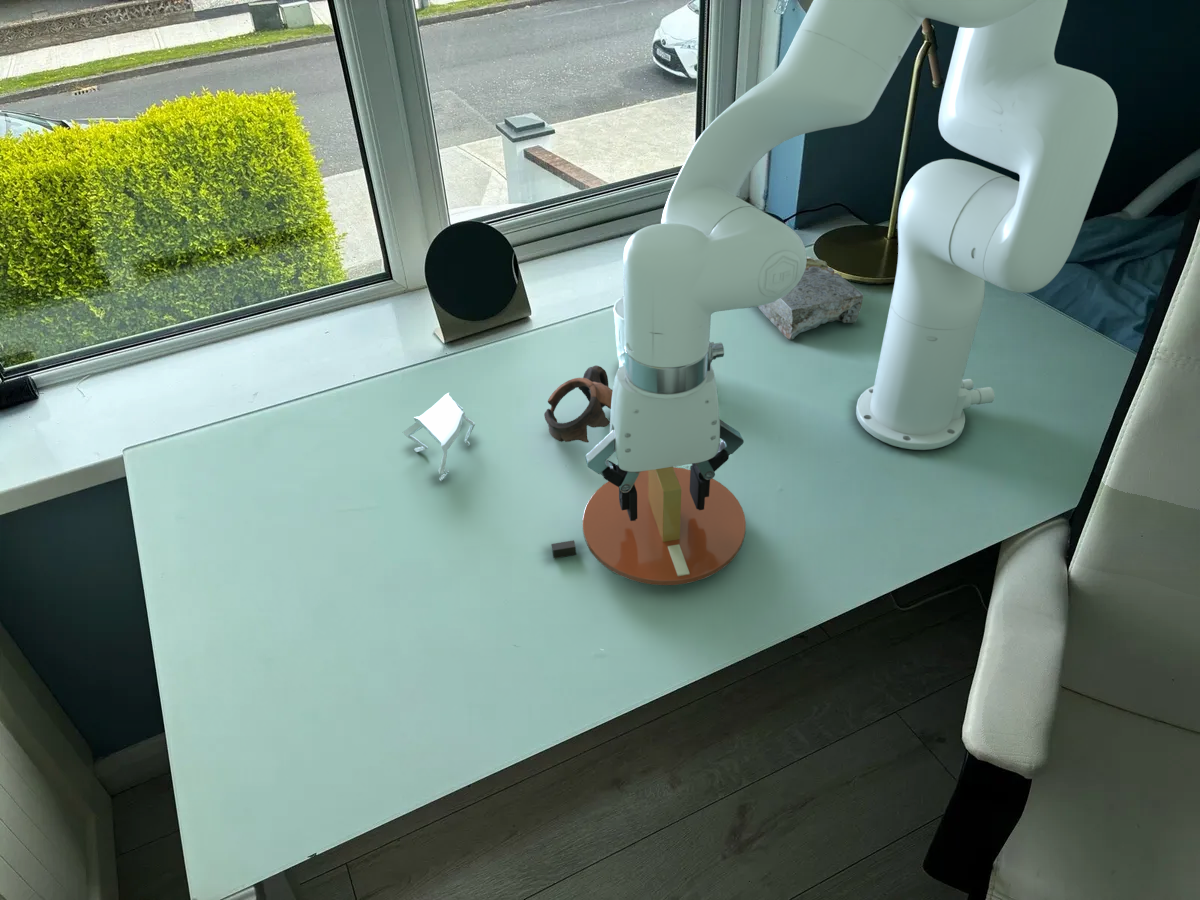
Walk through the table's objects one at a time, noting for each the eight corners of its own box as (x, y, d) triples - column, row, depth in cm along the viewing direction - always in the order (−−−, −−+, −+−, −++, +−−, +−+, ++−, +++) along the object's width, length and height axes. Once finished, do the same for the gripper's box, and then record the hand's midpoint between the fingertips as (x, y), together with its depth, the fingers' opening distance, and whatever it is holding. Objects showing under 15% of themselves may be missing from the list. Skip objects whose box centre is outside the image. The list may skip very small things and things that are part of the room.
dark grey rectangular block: (696, 498, 100) (696, 487, 99) (722, 563, 92) (723, 552, 91) (545, 522, 98) (544, 511, 97) (560, 590, 90) (559, 579, 89)
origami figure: (401, 434, 111) (394, 402, 107) (467, 418, 113) (462, 386, 109) (420, 495, 102) (413, 462, 99) (491, 477, 104) (487, 444, 101)
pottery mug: (636, 459, 106) (601, 421, 100) (568, 478, 110) (531, 442, 105) (640, 380, 113) (607, 341, 107) (576, 401, 117) (541, 363, 112)
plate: (718, 461, 102) (722, 406, 97) (768, 569, 89) (775, 513, 84) (570, 483, 100) (566, 429, 95) (599, 598, 87) (596, 542, 82)
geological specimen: (796, 313, 119) (743, 259, 130) (792, 350, 124) (740, 295, 134) (866, 294, 122) (808, 242, 132) (859, 331, 126) (804, 278, 137)
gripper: (745, 327, 85) (733, 470, 97) (565, 352, 83) (574, 495, 94) (772, 372, 79) (756, 518, 91) (579, 399, 77) (587, 545, 89)
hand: (663, 505), depth 93 cm, fingers open, 6 cm apart
